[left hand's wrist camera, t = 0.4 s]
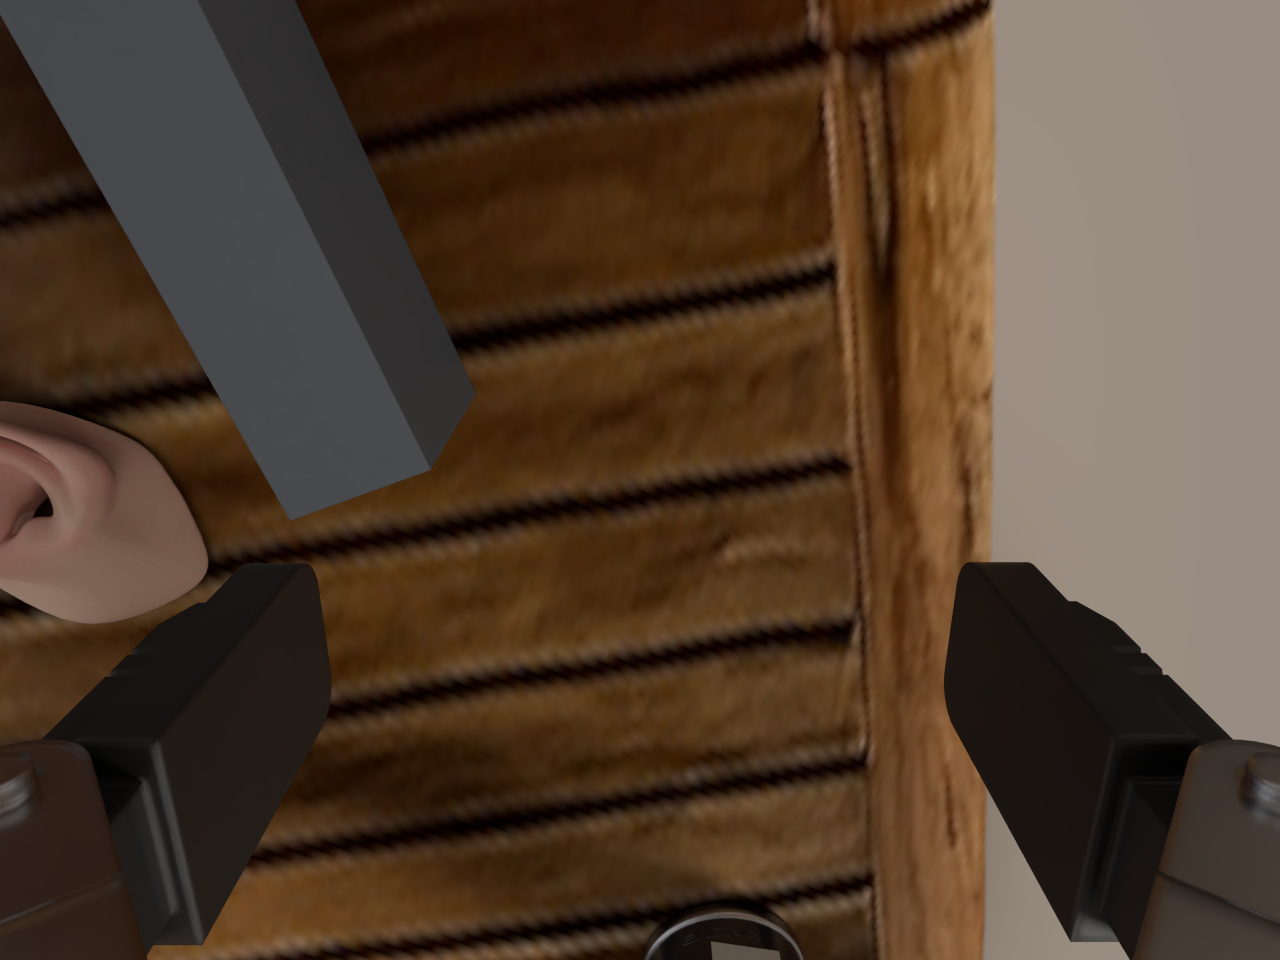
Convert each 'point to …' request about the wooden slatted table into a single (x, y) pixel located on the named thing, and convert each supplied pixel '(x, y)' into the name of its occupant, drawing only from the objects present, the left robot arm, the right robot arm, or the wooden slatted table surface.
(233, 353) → the bar
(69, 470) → the anatomical model
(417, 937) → the wooden slatted table surface
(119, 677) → the left robot arm
